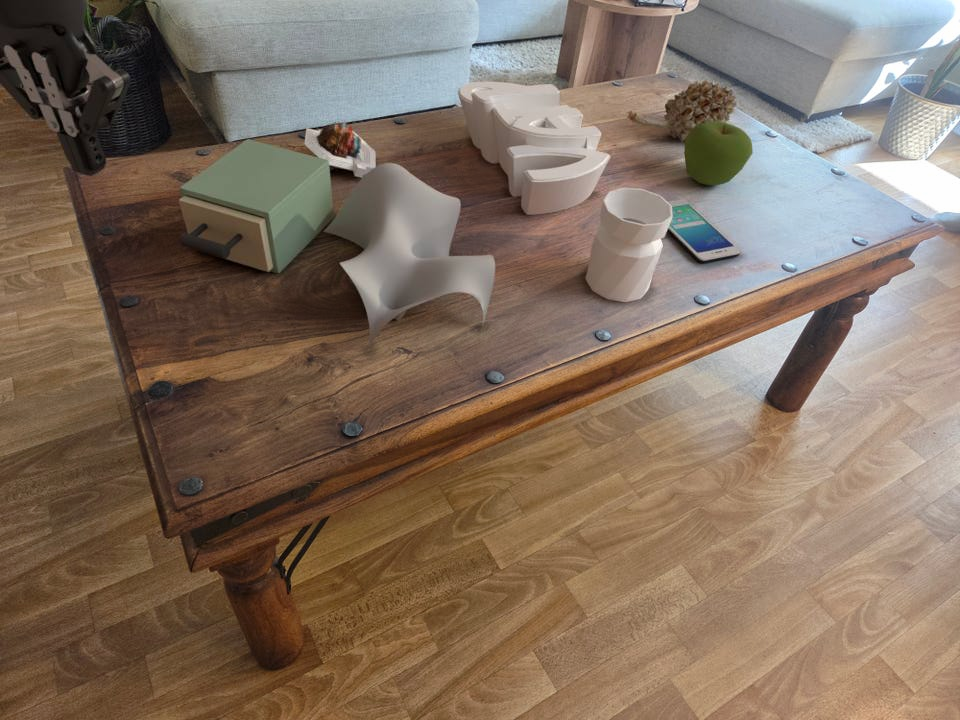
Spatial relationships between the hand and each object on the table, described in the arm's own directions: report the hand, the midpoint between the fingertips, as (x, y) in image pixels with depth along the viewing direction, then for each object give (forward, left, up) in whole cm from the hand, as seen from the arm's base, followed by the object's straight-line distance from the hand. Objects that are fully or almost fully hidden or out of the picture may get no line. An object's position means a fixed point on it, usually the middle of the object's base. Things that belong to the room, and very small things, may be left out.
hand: (90, 169), depth 57 cm
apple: (+76, +46, -23) cm, 92 cm away
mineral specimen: (+15, +45, -23) cm, 53 cm away
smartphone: (+69, +30, -23) cm, 79 cm away
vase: (+55, +17, -23) cm, 62 cm away
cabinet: (+7, +25, -23) cm, 35 cm away
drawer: (+6, +21, -22) cm, 31 cm away
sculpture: (+27, +17, -23) cm, 39 cm away
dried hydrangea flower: (+74, +61, -23) cm, 99 cm away
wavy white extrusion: (+45, +46, -23) cm, 68 cm away
